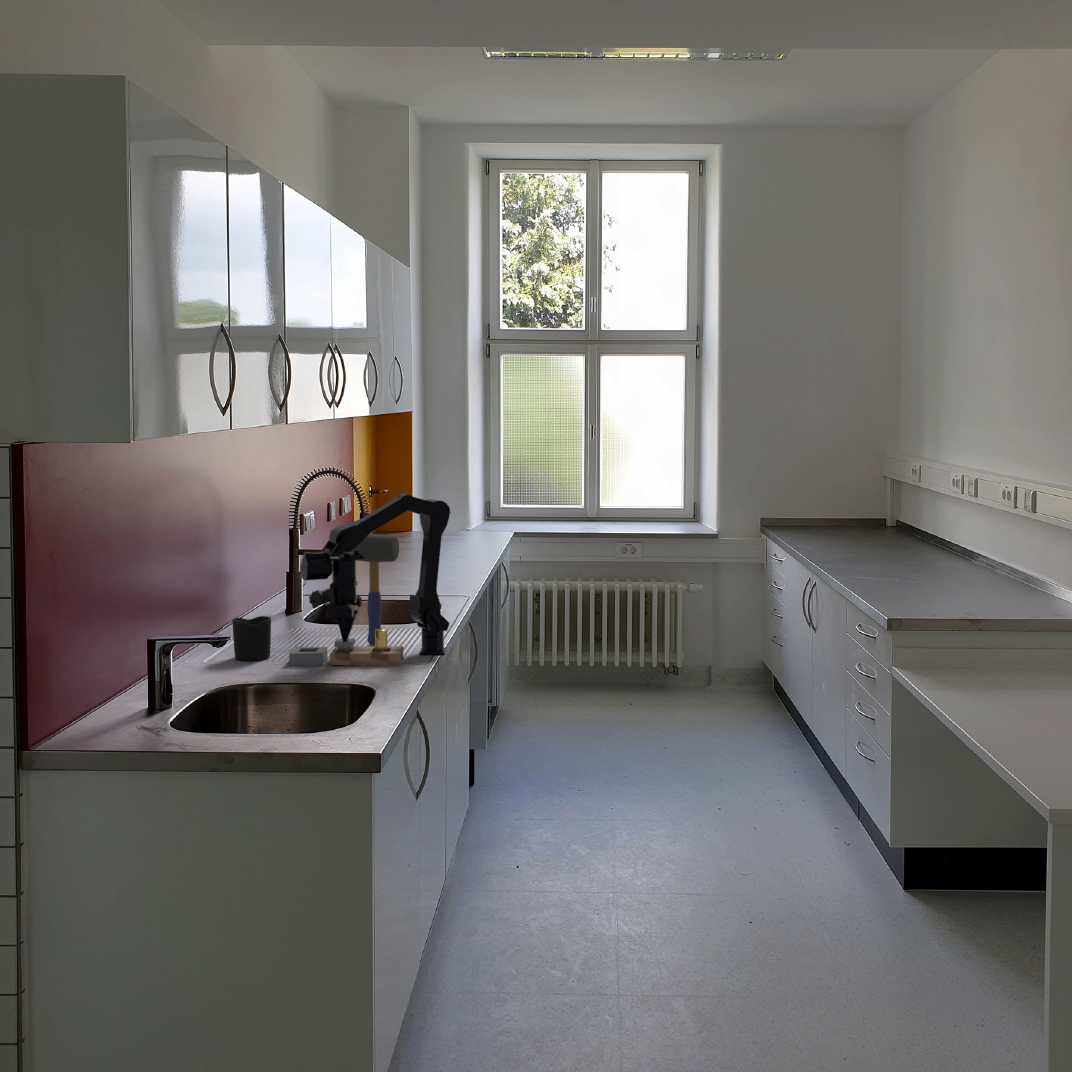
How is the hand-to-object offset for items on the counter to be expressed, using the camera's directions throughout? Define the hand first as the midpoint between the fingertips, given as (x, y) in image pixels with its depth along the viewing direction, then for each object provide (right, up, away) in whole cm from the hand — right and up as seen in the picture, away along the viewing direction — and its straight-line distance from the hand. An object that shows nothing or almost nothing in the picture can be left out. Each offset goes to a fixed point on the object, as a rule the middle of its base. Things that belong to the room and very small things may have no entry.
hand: (345, 640), depth 263 cm
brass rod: (+9, -5, +1) cm, 11 cm away
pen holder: (-24, -5, +5) cm, 25 cm away
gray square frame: (-9, -5, 0) cm, 10 cm away
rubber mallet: (+4, -4, +21) cm, 21 cm away
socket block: (+5, -5, +1) cm, 7 cm away
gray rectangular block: (0, -5, 0) cm, 5 cm away
